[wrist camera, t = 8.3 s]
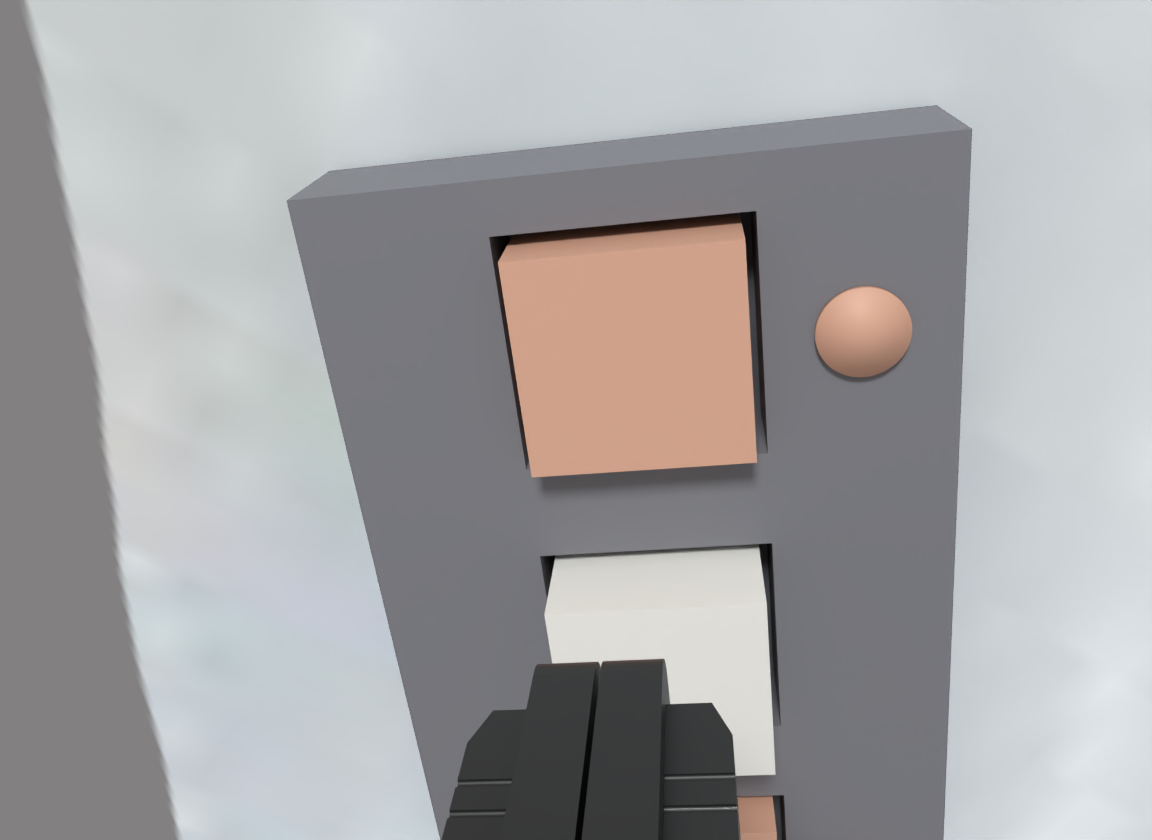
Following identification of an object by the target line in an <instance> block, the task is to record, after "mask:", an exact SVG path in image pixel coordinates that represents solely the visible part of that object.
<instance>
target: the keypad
mask: <svg viewBox="0 0 1152 840" xmlns="http://www.w3.org/2000/svg"><path fill="white" fill-rule="evenodd" d="M971 140H972V129H971V128H970V127H968V126H967V125H965V124H964V123H962V122H961V121H959V120H958V119H956V118H955V117H953V116H952V115H950V114H949V113H947V112H946V111H944V110H943V109H941V108H940V107H938V106H937V105H935V106H926V107H917V108H908V109H898V110H889V111H880V112H871V113H861V114H852V115H843V116H834V117H824V118H815V119H806V120H797V121H787V122H778V123H769V124H760V125H751V126H741V127H732V128H723V129H714V130H704V131H695V132H686V133H677V134H667V135H658V136H649V137H640V138H630V139H621V140H612V141H603V142H593V143H584V144H575V145H566V146H556V147H547V148H538V149H529V150H519V151H510V152H501V153H492V154H482V155H473V156H464V157H455V158H446V159H436V160H427V161H418V162H409V163H399V164H390V165H381V166H372V167H362V168H353V169H344V170H335V171H329V172H327V173H326V174H325V175H323V176H322V177H320V178H319V179H317V180H316V181H314V182H313V183H312V184H310V185H309V186H307V187H306V188H304V189H303V190H301V191H300V192H299V193H297V194H296V195H294V196H293V197H291V198H290V199H288V200H287V204H288V208H289V212H290V217H291V221H292V225H293V229H294V233H295V237H296V242H297V246H298V250H299V254H300V258H301V262H302V266H303V271H304V275H305V279H306V283H307V287H308V291H309V296H310V300H311V304H312V308H313V312H314V316H315V320H316V325H317V329H318V333H319V337H320V341H321V345H322V350H323V354H324V358H325V362H326V366H327V370H328V374H329V379H330V383H331V387H332V391H333V395H334V399H335V404H336V408H337V412H338V416H339V420H340V424H341V428H342V433H343V437H344V441H345V445H346V449H347V453H348V458H349V462H350V466H351V470H352V474H353V478H354V482H355V487H356V491H357V495H358V499H359V503H360V507H361V512H362V516H363V520H364V524H365V528H366V532H367V536H368V541H369V545H370V549H371V553H372V557H373V561H374V566H375V570H376V574H377V578H378V582H379V586H380V590H381V595H382V599H383V603H384V607H385V611H386V615H387V620H388V624H389V628H390V632H391V636H392V640H393V645H394V649H395V653H396V657H397V661H398V665H399V669H400V674H401V678H402V682H403V686H404V690H405V694H406V699H407V703H408V707H409V711H410V715H411V719H412V723H413V728H414V732H415V736H416V740H417V744H418V748H419V753H420V757H421V761H422V765H423V769H424V773H425V777H426V782H427V786H428V790H429V794H430V798H431V802H432V807H433V811H434V815H435V819H436V823H437V827H438V831H439V836H440V840H442V836H443V832H444V828H445V825H446V821H447V818H449V816H450V812H449V809H450V806H451V802H452V798H453V794H454V791H455V787H457V786H458V780H457V779H458V776H459V772H460V768H461V764H462V761H463V757H464V753H465V749H466V745H467V742H468V741H469V740H470V739H471V737H472V736H473V735H474V734H475V732H476V731H477V730H478V729H479V727H480V726H481V725H482V724H483V722H484V721H485V720H486V719H487V717H488V716H489V715H490V714H491V712H492V711H493V710H521V709H526V708H527V703H528V698H529V693H530V688H531V683H532V678H533V674H534V670H535V667H536V665H537V664H551V663H552V659H551V653H550V647H549V640H548V634H547V628H546V622H545V616H544V614H545V609H546V603H547V598H548V593H549V588H550V582H551V577H552V572H553V567H554V561H555V556H556V555H570V554H587V553H605V552H623V551H641V550H659V549H677V548H695V547H713V546H731V545H749V544H759V551H760V558H761V566H762V573H763V580H764V587H765V595H766V602H767V618H768V638H769V657H770V676H771V696H772V715H773V735H774V754H775V773H776V775H746V776H736V785H737V796H773V805H774V814H775V823H776V832H777V840H943V836H944V811H945V786H946V761H947V736H948V712H949V687H950V662H951V637H952V612H953V587H954V563H955V538H956V513H957V488H958V463H959V438H960V414H961V389H962V364H963V339H964V314H965V289H966V265H967V240H968V215H969V190H970V165H971ZM730 213H739V214H740V218H741V223H742V227H743V231H744V236H745V243H746V262H747V281H748V300H749V319H750V338H751V357H752V376H753V395H754V413H755V432H756V451H757V463H745V464H729V465H714V466H699V467H684V468H669V469H654V470H638V471H623V472H608V473H593V474H578V475H563V476H547V477H532V476H531V470H530V463H529V457H528V451H527V444H526V438H525V432H524V425H523V419H522V413H521V406H520V400H519V394H518V387H517V381H516V374H515V368H514V362H513V355H512V349H511V343H510V336H509V330H508V324H507V317H506V311H505V305H504V298H503V292H502V286H501V279H500V273H499V267H498V261H499V260H500V258H501V256H502V254H503V252H504V250H505V248H506V247H507V245H508V243H509V241H510V239H511V237H512V235H514V234H525V233H535V232H545V231H555V230H566V229H576V228H586V227H596V226H607V225H617V224H627V223H638V222H648V221H658V220H668V219H679V218H689V217H699V216H709V215H720V214H730Z"/></svg>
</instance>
